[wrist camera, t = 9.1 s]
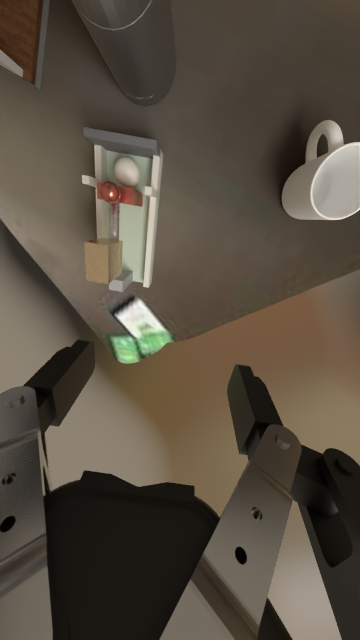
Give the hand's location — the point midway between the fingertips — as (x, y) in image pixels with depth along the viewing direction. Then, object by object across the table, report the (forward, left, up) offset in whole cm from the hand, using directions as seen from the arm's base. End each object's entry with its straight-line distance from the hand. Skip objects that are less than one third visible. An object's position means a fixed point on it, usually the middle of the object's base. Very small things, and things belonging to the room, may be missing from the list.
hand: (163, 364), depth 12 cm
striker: (-4, -11, -31) cm, 33 cm away
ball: (-12, -11, -30) cm, 34 cm away
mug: (-16, +18, -33) cm, 41 cm away
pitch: (-5, -11, -33) cm, 35 cm away
